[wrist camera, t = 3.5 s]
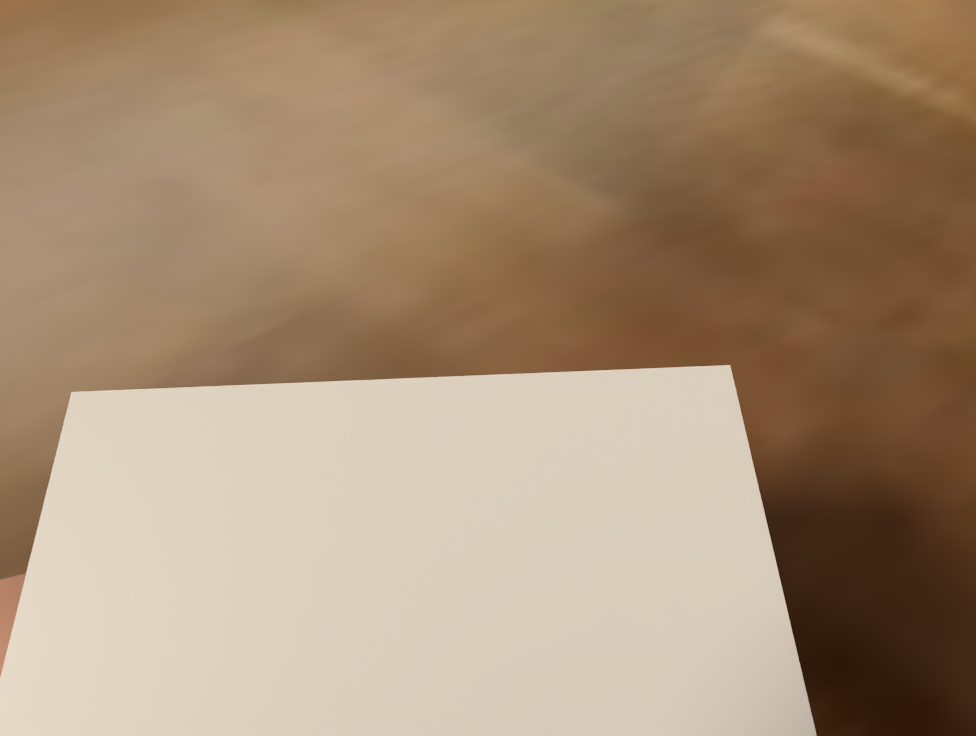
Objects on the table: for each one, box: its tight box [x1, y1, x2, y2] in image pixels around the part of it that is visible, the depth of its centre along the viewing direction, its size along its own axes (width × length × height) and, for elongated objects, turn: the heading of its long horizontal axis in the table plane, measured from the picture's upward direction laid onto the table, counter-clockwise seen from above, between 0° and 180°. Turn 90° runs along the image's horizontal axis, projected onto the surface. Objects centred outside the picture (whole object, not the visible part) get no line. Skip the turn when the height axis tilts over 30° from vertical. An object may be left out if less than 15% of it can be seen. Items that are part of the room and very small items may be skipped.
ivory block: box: [0, 365, 817, 736], centre depth 9 cm, size 5×5×12 cm
